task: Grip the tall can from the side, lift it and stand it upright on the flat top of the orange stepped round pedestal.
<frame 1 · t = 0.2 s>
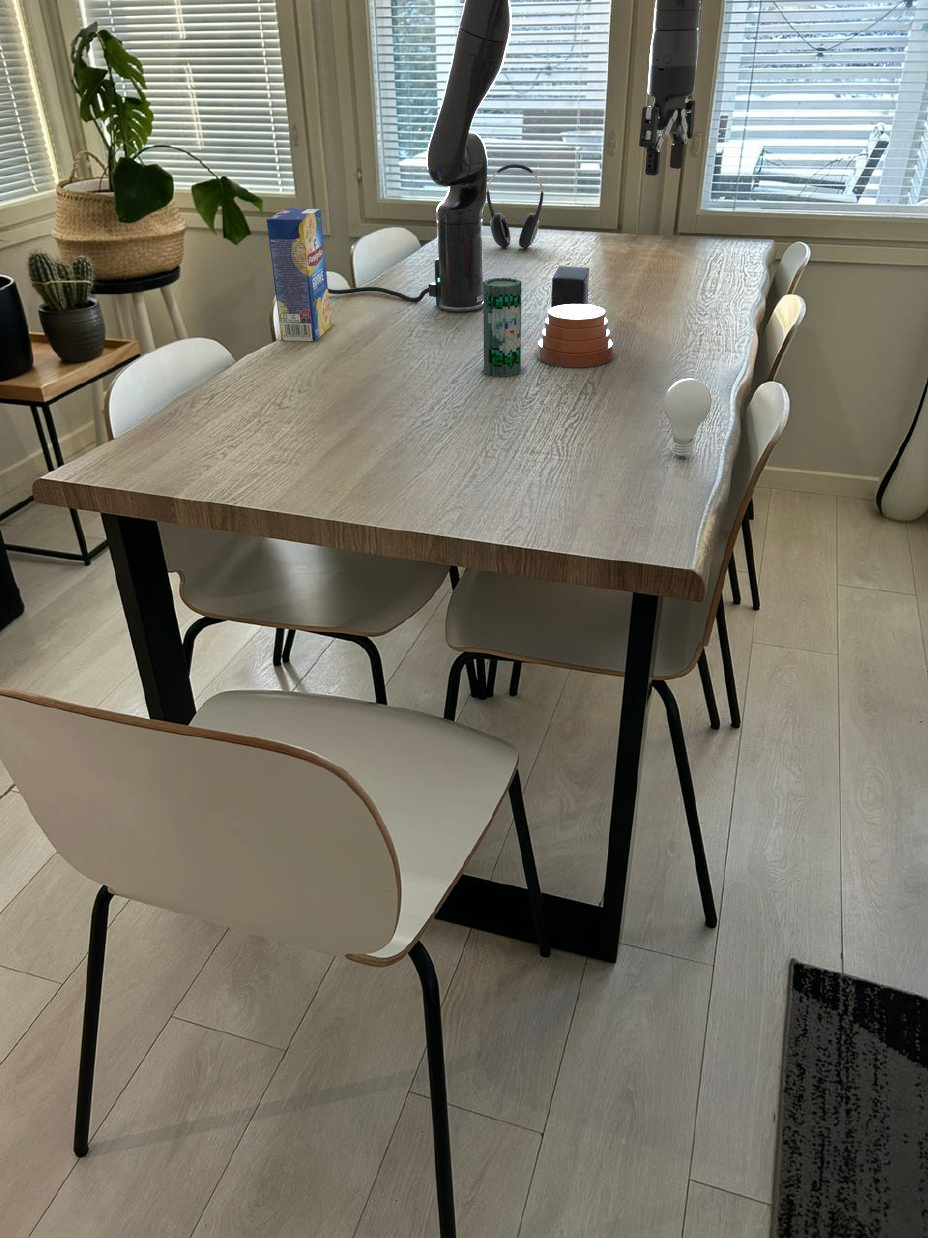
hand: (664, 171, 166), 29 cm above the table, tool pointing down, fingers open, 8 cm apart
small box: (568, 327, 191), on the table
blue cracker box: (307, 333, 192), on the table
orange stepped round pedestal: (574, 356, 175), on the table
can: (502, 371, 169), on the table
headphones: (514, 248, 254), on the table
lightbulb: (681, 457, 136), on the table
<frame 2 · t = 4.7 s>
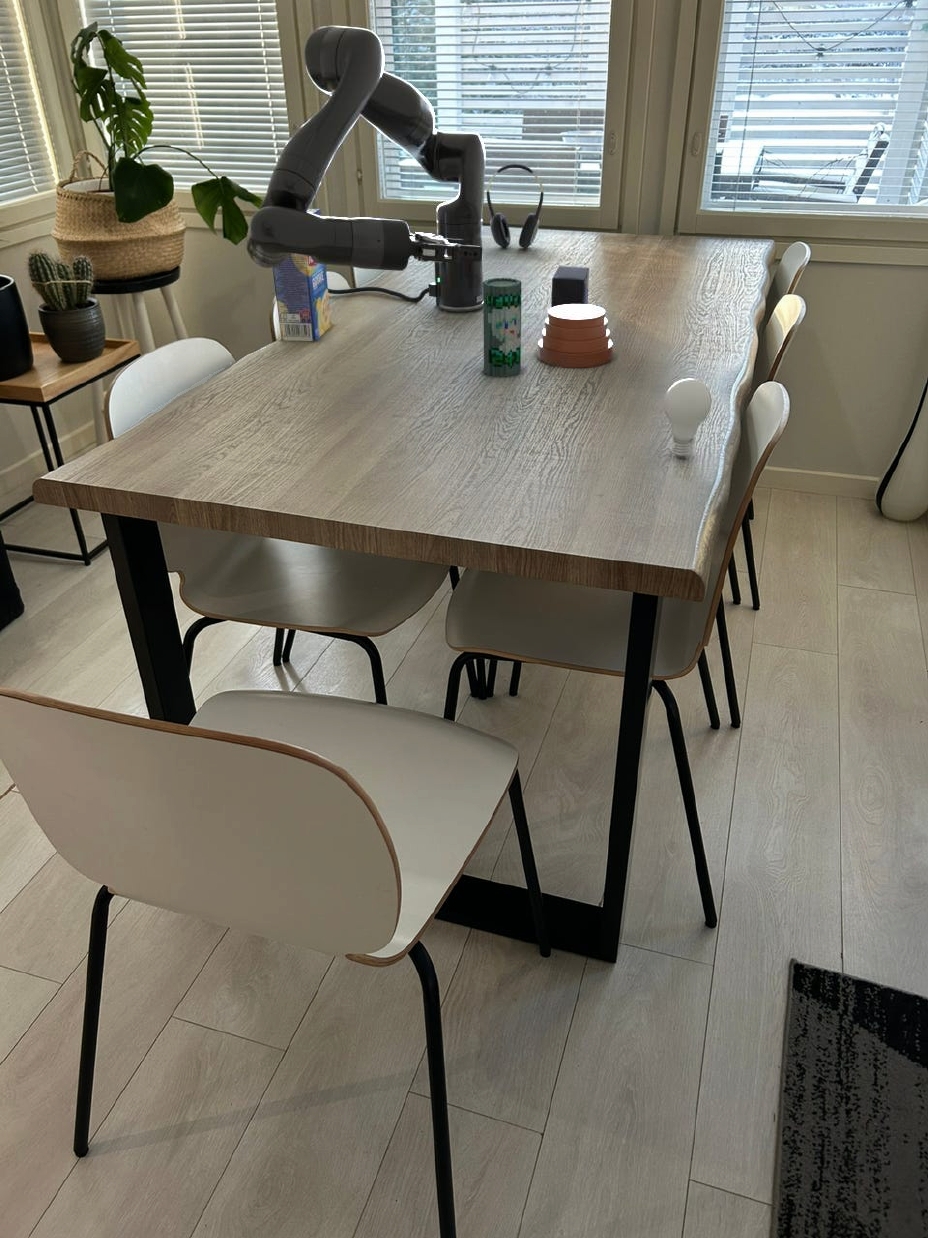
hand: (473, 250, 158), 20 cm above the table, tool horizontal, fingers open, 8 cm apart
nothing on the table moved.
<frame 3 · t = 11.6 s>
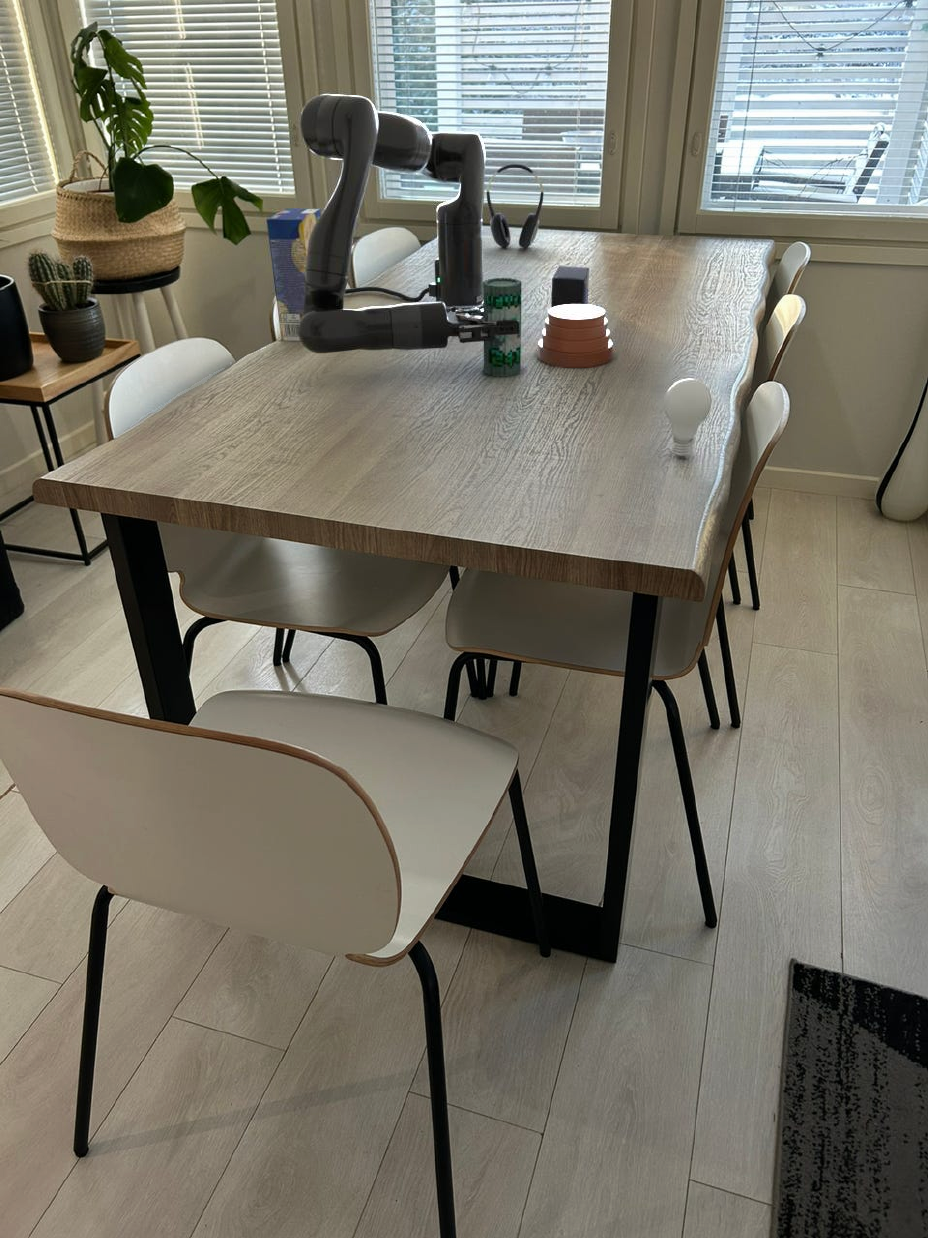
hand: (515, 320, 165), 8 cm above the table, tool horizontal, fingers closed on can, 6 cm apart
can: (502, 371, 169), on the table, touching gripper
everything else where it was.
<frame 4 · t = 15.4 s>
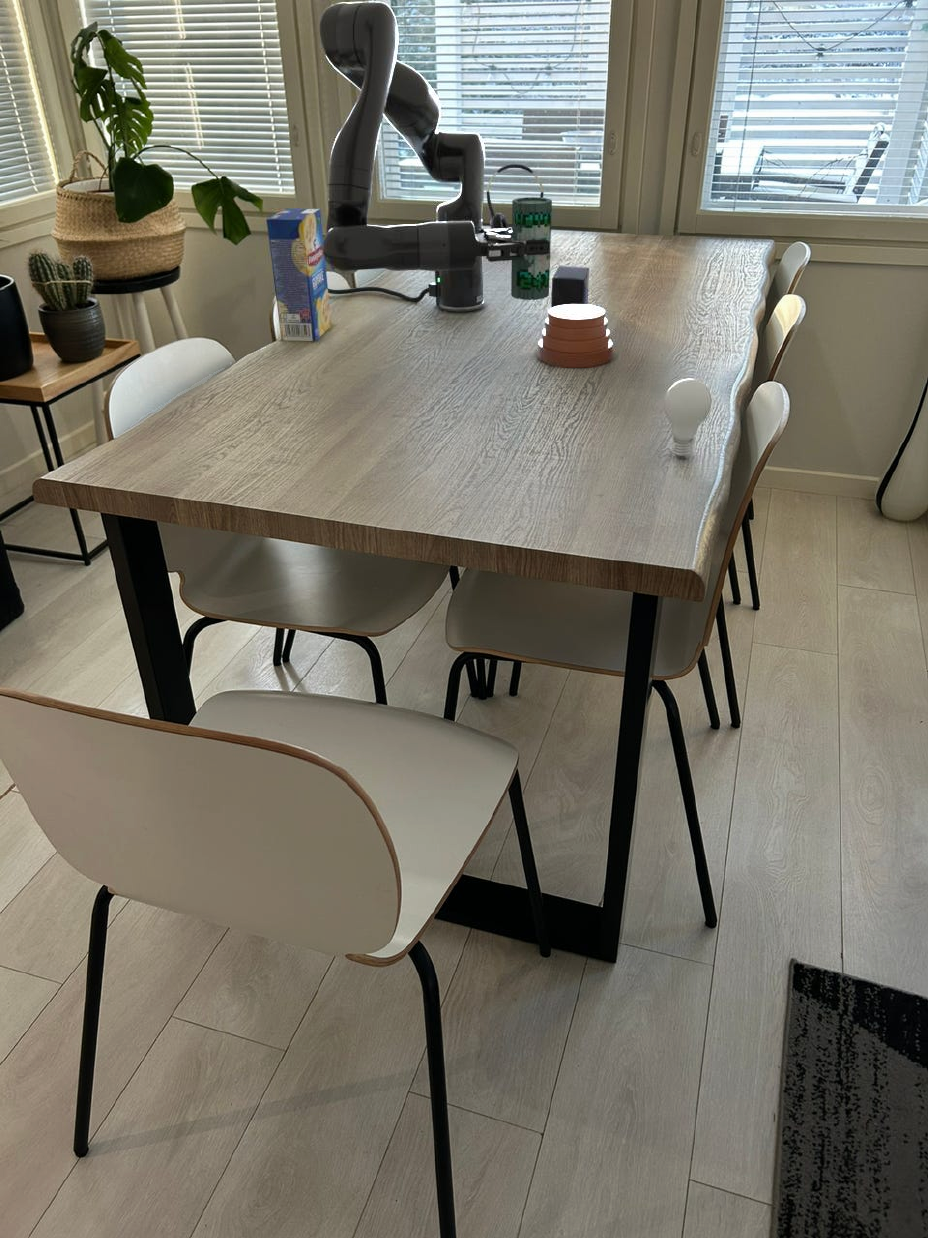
hand: (544, 242, 161), 21 cm above the table, tool horizontal, fingers closed on can, 6 cm apart
can: (529, 296, 165), point 12 cm above the table, touching gripper
everything else where it was.
when the fingers open (16 cm above the table, at t = 19.1 s): can stays where it is, resting on orange stepped round pedestal.
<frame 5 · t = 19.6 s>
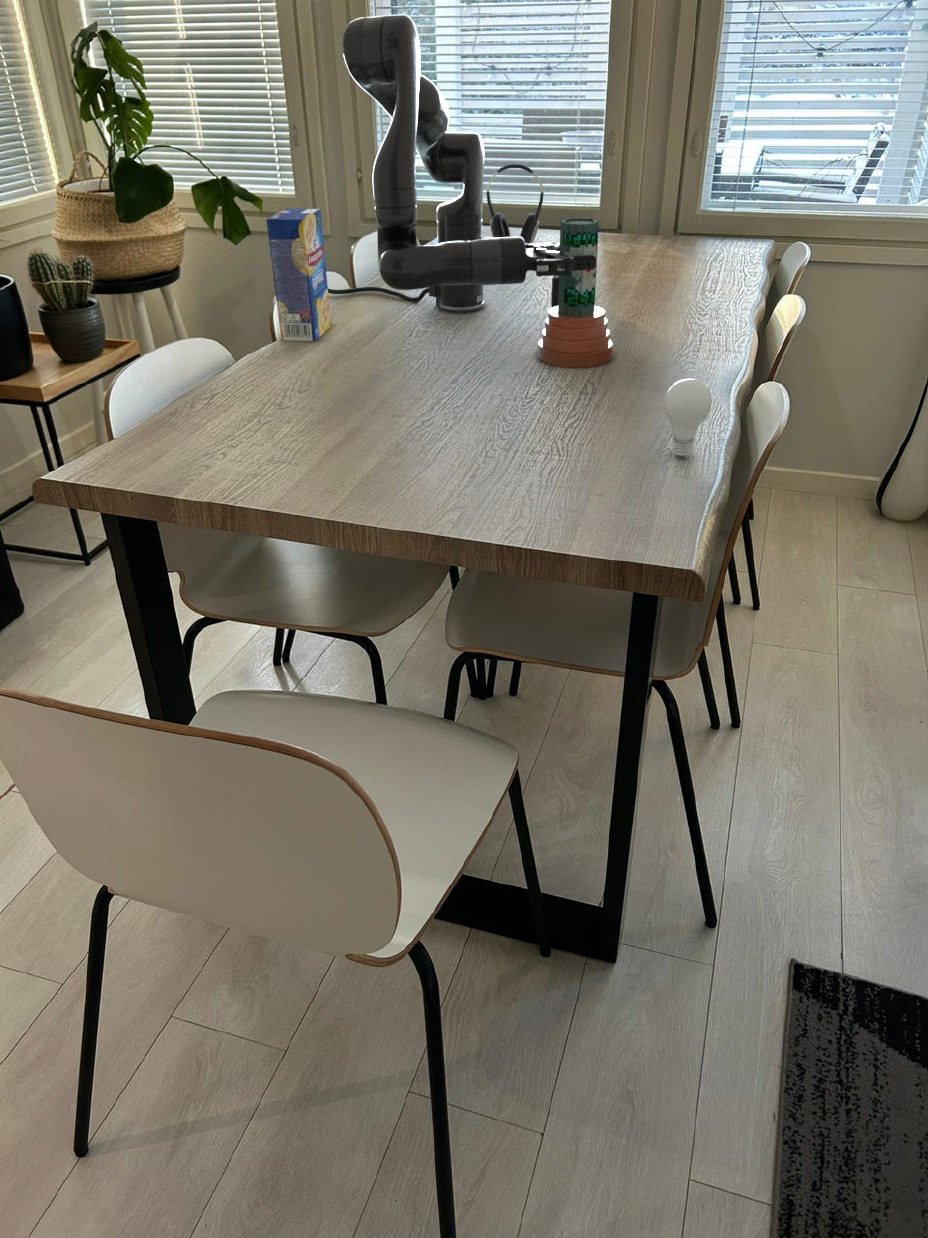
hand: (589, 256, 166), 17 cm above the table, tool horizontal, fingers open, 8 cm apart
can: (576, 312, 171), point 8 cm above the table, touching orange stepped round pedestal
everything else where it was.
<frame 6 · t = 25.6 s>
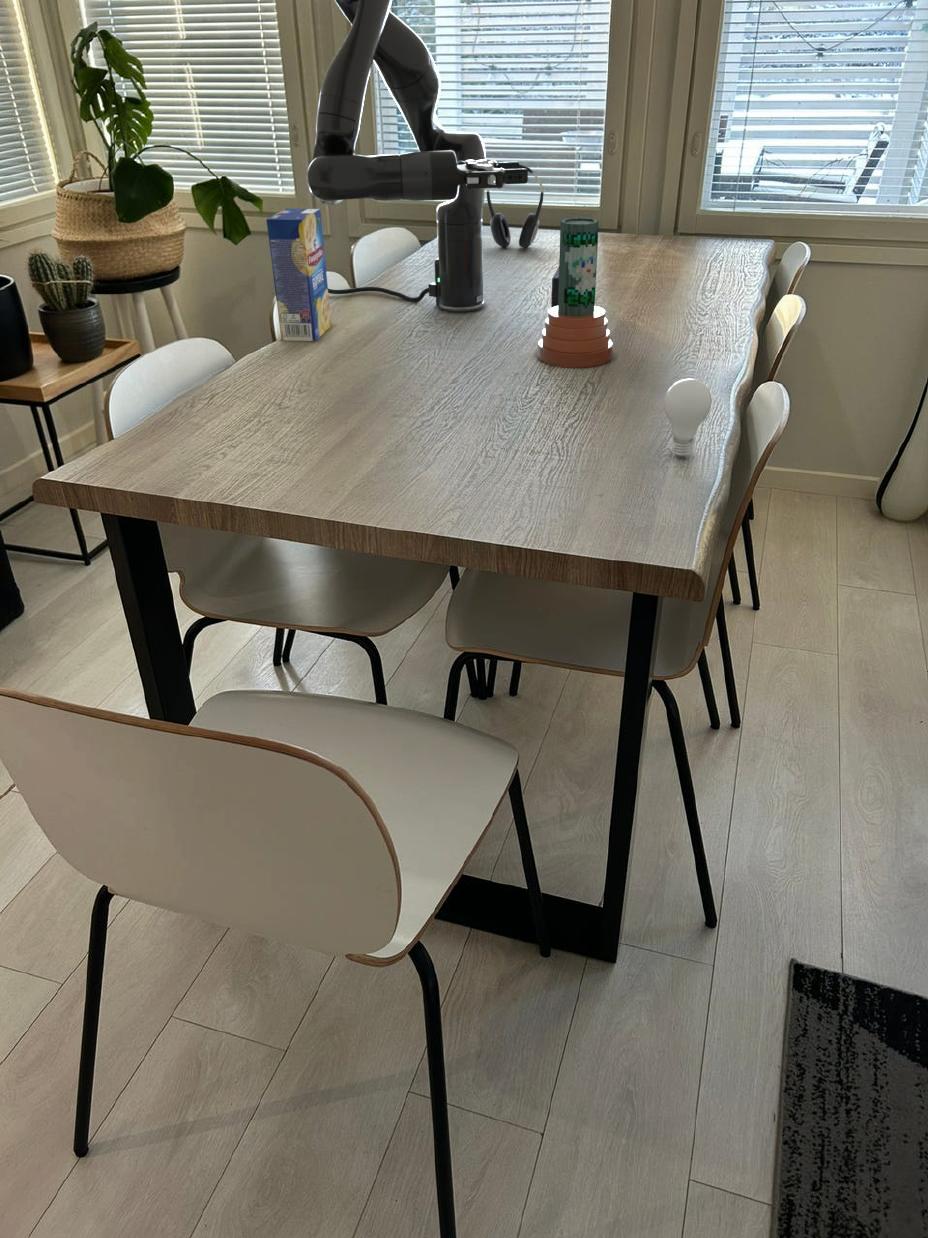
hand: (523, 171, 164), 30 cm above the table, tool horizontal, fingers open, 8 cm apart
nothing on the table moved.
at the end: can 0.1 cm off-centre on the orange stepped round pedestal, point 7.8 cm above the orange stepped round pedestal's base; can tilted 0°; the gripper is holding nothing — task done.
